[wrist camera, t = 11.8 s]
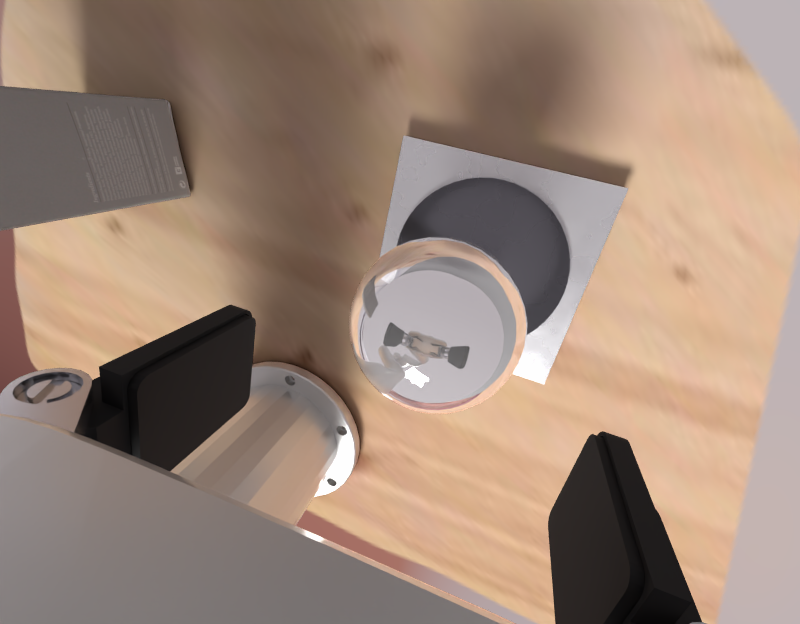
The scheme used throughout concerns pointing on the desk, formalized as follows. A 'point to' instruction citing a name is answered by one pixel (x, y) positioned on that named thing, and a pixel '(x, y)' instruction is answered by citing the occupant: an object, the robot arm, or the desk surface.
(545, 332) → the duct plate
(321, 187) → the desk surface
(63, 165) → the skincare box
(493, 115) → the desk surface
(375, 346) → the light bulb
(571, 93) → the desk surface
